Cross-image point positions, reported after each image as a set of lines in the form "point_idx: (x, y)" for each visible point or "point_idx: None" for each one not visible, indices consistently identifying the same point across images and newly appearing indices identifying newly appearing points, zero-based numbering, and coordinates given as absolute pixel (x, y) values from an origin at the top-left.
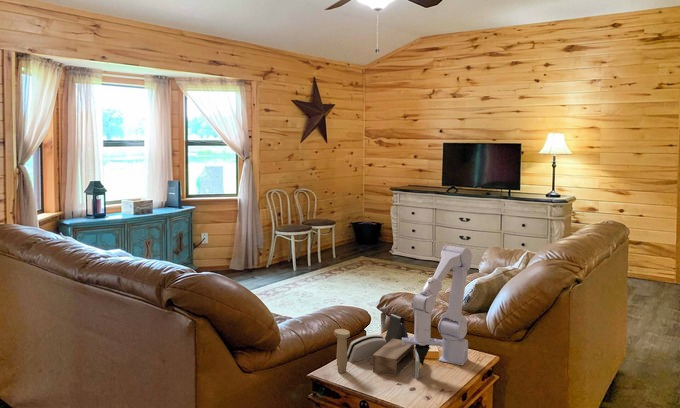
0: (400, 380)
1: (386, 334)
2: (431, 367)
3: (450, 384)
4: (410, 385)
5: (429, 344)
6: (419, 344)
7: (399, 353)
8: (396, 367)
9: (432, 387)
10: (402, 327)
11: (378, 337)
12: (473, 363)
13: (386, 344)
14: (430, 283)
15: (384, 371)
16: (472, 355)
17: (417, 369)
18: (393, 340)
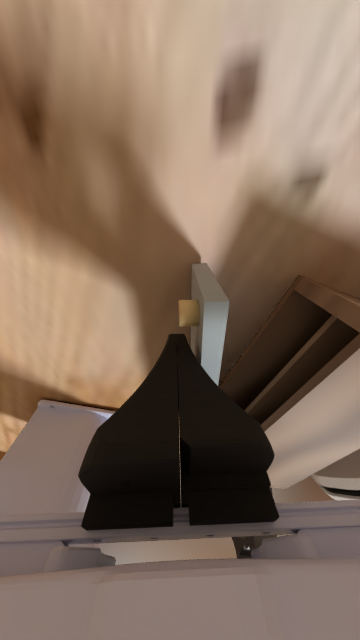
0: (285, 236)
1: (271, 490)
2: (141, 375)
3: (17, 228)
4: (242, 167)
5: (82, 531)
6: (273, 595)
7: (313, 402)
8: (323, 302)
9: (105, 157)
10: None
11: (357, 491)
12: (16, 413)
13: (335, 459)
14: None
15: (355, 298)
16: None
17: (204, 279)
18: (288, 481)
